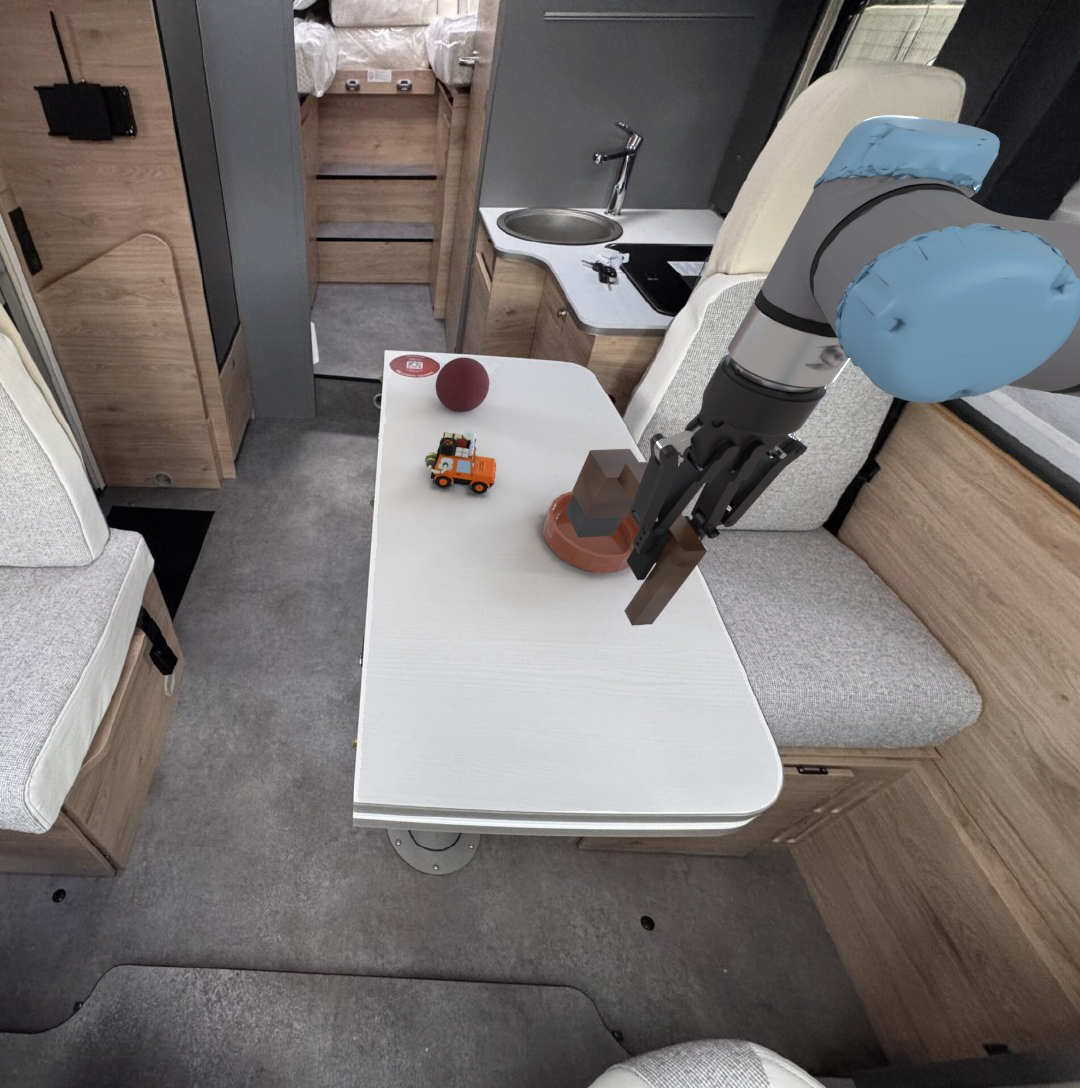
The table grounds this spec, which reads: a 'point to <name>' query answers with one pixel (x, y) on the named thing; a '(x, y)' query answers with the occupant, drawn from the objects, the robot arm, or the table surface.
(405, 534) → the table surface
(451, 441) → the toy car
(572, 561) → the bowl
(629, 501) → the brown wooden mallet
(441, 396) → the decorative ball
